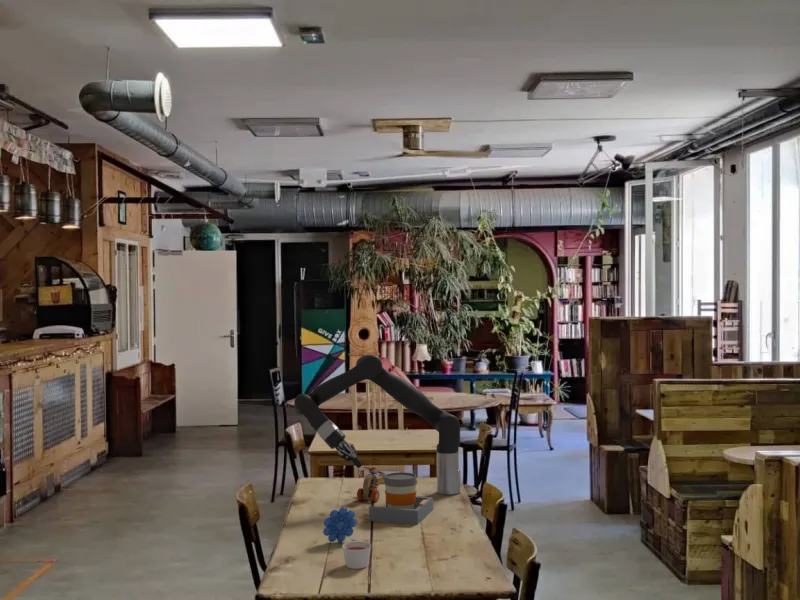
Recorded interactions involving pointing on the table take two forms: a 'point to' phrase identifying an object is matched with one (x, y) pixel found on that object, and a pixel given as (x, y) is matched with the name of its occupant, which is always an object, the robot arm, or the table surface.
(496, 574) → the table surface
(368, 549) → the candle
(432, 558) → the table surface
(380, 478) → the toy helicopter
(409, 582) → the table surface
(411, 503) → the reusable coffee cup
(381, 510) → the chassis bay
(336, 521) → the grapes
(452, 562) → the table surface
